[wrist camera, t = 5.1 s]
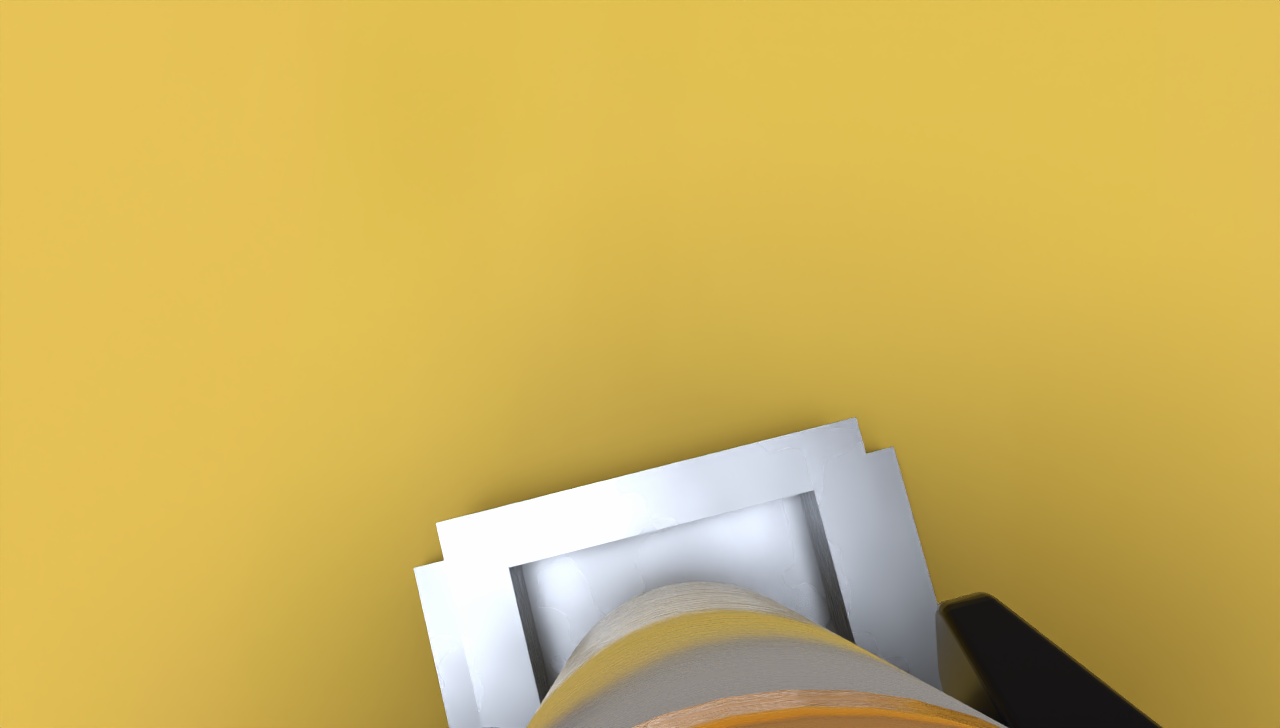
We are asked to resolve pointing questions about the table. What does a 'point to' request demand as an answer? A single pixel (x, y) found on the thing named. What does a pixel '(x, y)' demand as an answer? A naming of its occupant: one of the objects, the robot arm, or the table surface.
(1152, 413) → the table surface
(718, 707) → the pin
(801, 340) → the table surface
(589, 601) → the grey slab
